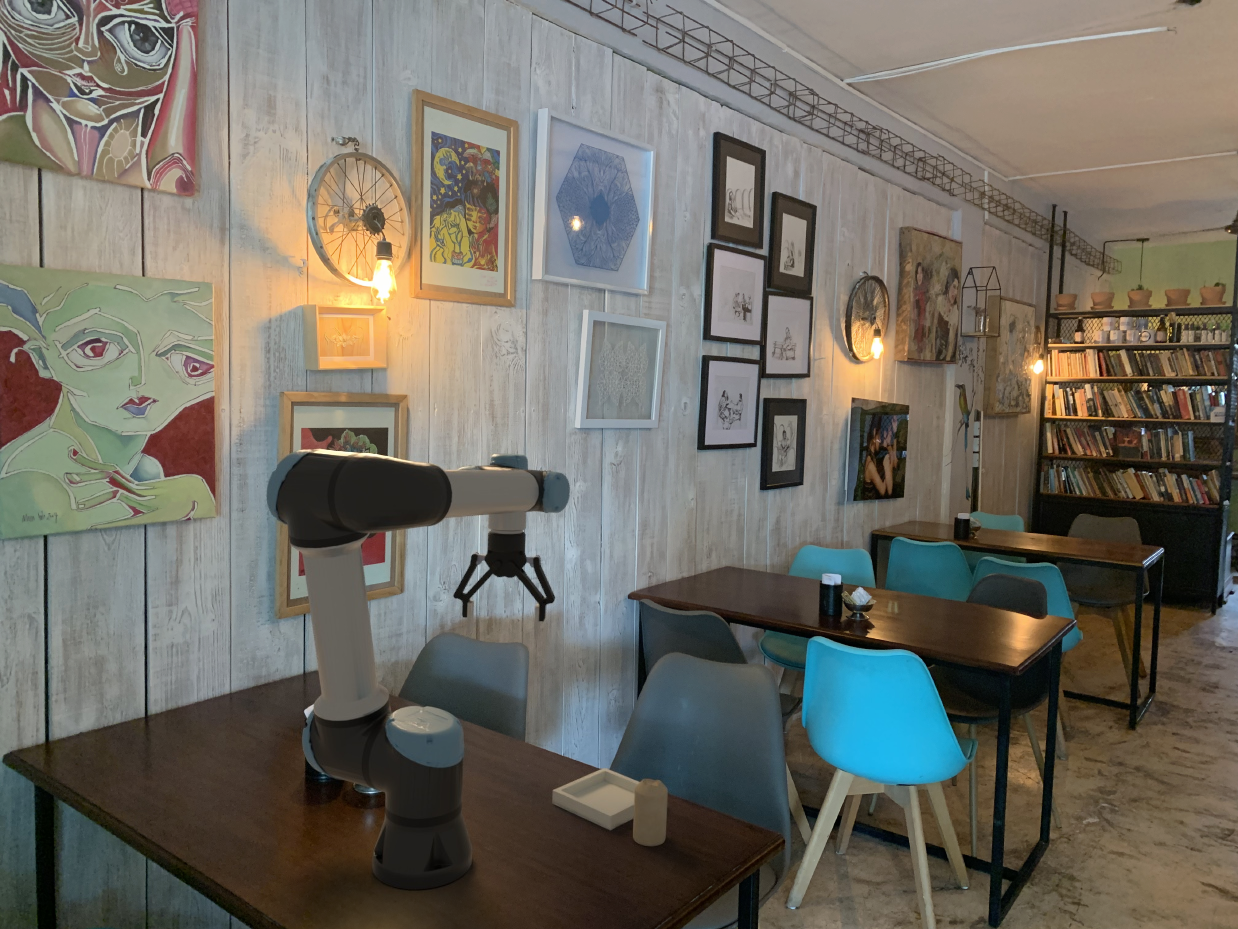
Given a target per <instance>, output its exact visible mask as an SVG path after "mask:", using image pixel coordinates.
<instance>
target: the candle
mask: <svg viewBox="0 0 1238 929" xmlns="http://www.w3.org/2000/svg"><path fill="white" fill-rule="evenodd" d="M639 782H640V783H639V784H638V785H637V786H636V787H635V796H634V818H633V821H632V822H633V824H632V825H633V826H632V827H633V828H632V839H633V841H634V842H635V843H637V844H638V845H641V846H643V847H644V846H645V847H656V846H660V845H662V844H663V843H665V841H666V834H667V815H668V814H667V813H668V792H669V791H668V788H667V786H666V785H665V784H664V782H662V780H659V779H656V780H655V779H651V778H642V780H641V781H639Z"/></svg>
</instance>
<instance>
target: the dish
mask: <svg viewBox="0 0 1238 929" xmlns="http://www.w3.org/2000/svg"><path fill="white" fill-rule="evenodd" d="M640 782H641V781H639V780H635V779H632V778H631V777H628V776H626V775H623V774H621V773H619V772H616V771H613V770H612V769H609V768H606V767H603V768H602V769H601V768H600V769H599V770H597V771H593V772H591V773H589V774H587V775H584V776H582V777H581V778H578V779H575V780H574V781H571V782H568V783H567V784H564V785H562V786H559V787H556V788H555V789H552V798H551V800H552V802H551V803H552V805H554V806H556V807H559V808H561V809H563V810H566V811H567V812H569V813H572V814H573V815H576V816H578V817H580V818H583V819H585V820H587V821H589V822H591V823H593V824H595V825H597V826H600V827H602V828H604V829H606V830H609V831H612V830H613V829H616V828H618V827H619V826H621V825H625V823H627V822H630V821H631V820H634V796H635V787H636V786H637V785H638V784H639V783H640Z"/></svg>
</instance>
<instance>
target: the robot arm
mask: <svg viewBox="0 0 1238 929" xmlns="http://www.w3.org/2000/svg"><path fill="white" fill-rule="evenodd" d="M267 482H268V483H267V486H266V495H265V496H266V504H267V508H268V509H269V510H268V511H269V513H270V514H271V515H272V516H273V518H276V520H277V521H278V522H280V523H282V524H283V525H287V531H288V538H289V544H290V546H291V547H293V549H295V550H297V551H298V552H300V553H301V555H302V560H303V561H302V562H303V569H304V574H305V582H306V583H305V584H306V588H307V589H306V590H307V595H308V596H307V597H308V603H309V612H310V618H311V626H312V633H313V641H314V648H315V654H316V664H317V670H318V677H319V684H320V685H319V686H320V691H321V694H320V696H318V698H316V700H315V701H314V703H313V709H312V710H311V711H310V712H309V714H308V716H307V718H306V721H305V723H306V724H307V725H306V727H303V730H302V736H301V737H302V738H301V743H302V750H303V753H304V756H305V758H306V761H307V762H308V763H309V764H310V766H311V767H312V768H313V769H314V770H316V771H317V772H319V773H322V774H324V775H326V776H328V777H329V778H332V779H335V780H340V781H346V782H350V783H354V784H357V785H361V786H363V787H367V788H369V789H370V788H371V789H373V790H377V791H380V792H383V793H385V810H384V811H385V813H384V820H383V823H382V824H381V828H380V832H379V834H378V836H377V839H376V843H375V845H374V849H373V852H372V864H371V865H372V868H371V869H372V873H373V875H374V876H375V878H376V879H377V880H379V881H380V882H382V883H384V884H385V885H387V886H390V887H394V888H397V889H404V890H426V889H433V888H438V887H441V886H445V885H448V884H450V883H452V882H454V881H457V880H458V879H460V878H461V877H463V875H465V874H467V872H468V871H469V870H470V868H471V865H472V863H473V845H472V841H471V839H470V835H469V832H468V829H467V825H466V822H465V819H464V818H465V817H464V815H463V788H464V787H463V786H464V785H463V784H464V783H463V780H464V756H465V753H466V752H465V751H466V748H465V743H464V729H463V725H462V723H461V722H460V720H459V718H457V717H456V716H455V715H453V714H452V713H450V712H448V711H447V710H444V709H442V708H438V707H434V706H427V705H426V706H425V707H423V706H420V705H410V706H404V707H401V708H398V709H397V710H394V711H393V712H392V707H391V702H390V692H389V690H388V689H387V687H385V686H383V685H381V684H380V683H378V677H377V667H376V659H375V651H374V650H375V649H374V642H373V635H372V634H373V632H372V625H371V619H370V609H369V601H368V592H367V586H366V585H367V584H366V577H365V569H364V568H365V567H364V561H363V560H364V558H363V552H362V544H363V543H364V542H365V541H366V539H367V538H368V537H369V535H370V534H377V533H389V532H395V531H403V530H409V529H418V528H423V527H432V526H433V527H434V526H436V525H438V524H440V523H441V522H443V521H444V520H445V519H450V518H452V519H453V518H463V517H465V518H466V517H475V516H485V515H487V516H488V517H487V519H488V520H487V522H488V523H487V527H488V529H489V530H490V531H488V533H487V551H486V554H481V553H479V552H478V551H475V552H474V553H472V555H471V556H470V562H469V565H468V567H467V569H466V571H465V573H464V575H463V577H462V578H461V580H460V582H459V584H458V585H457V587H456V590H455V592H454V593H453V598H454V599H457V600H460V601H461V603H462V606H461V608H462V609H461V616H462V618H466V636H471V635H472V634H473V633H474V615H475V614H474V613H475V612H474V610H475V609H474V608H475V600H473V599H471V598H472V597H473V596H474V595H475V594H476V592H478V591H479V590H480V588H481V587H482V586H483V585H485V583H486V582H487V581H488V580H489V579H490V578H491V577H492V575H494V576H495V577H496V578H503V577H505V578H507V579H513V578H515V577H516V579H518V580H519V581H520V582H521V583H522V585H524V587H525V589H526V590H527V591H528V592H529V594H530V595H531V596H532V597H533V599H535V601H536V602H537V603H536V604H535V607H534V626H533V630H534V633H533V639H537V640H538V639H539V637H540V632H541V631H540V629H541V628H540V627H541V622H543V623H544V621H545V619H546V615H547V614H546V610H547V609H546V608H547V605H549V604H554V602H555V600H556V596H555V593H554V592H553V589H552V587H551V584H550V583H549V580H548V577H547V576H546V573H545V571H544V569H543V567H542V559H541V556H540V555H539V554H536V555H535V556H527V554H526V536H527V535H526V532H525V530H526V528H527V513H529V512H532V513H533V512H540V513H544V514H549V513H552V514H553V513H554V514H555V513H556V514H557V513H561V512H563V510H565V509H566V507H567V505H568V503H569V500H570V493H571V487H570V482H569V479H568V477H567V476H566V475H565V474H564V473H563V472H558V471H552V470H538V469H537V470H536V469H529V461H528V457H527V456H526V455H524V454H519V453H494V454H492V455H491V457H490V461H489V465H468V466H463V467H459V468H457V469H443V468H442V467H441V466H439V465H438V464H435V463H431V462H417V461H412V460H406V459H401V458H396V457H392V456H387V455H381V454H376V453H368V452H366V453H365V452H364V453H362V452H351V451H340V450H339V451H338V450H337V451H336V450H329V449H325V448H316V449H299V450H296V451H293V452H291V453H289V454H288V455H286V456H284V457H283V458H282V459H281V460H280V461H279V462H278V463H277V465H276V468H275V470H273V471H272V472H271V474H270V477H269V480H268V481H267ZM483 562H484V563H485V564H486V565H487V567H488V570H487V571H486V572H485V573H484V574H483V575H482V576H481V577H480V578H479V579H478V580H477V581H476V583H475V584H474V585H473V586H472V587H471V588H470V589H469V590H468V591H467V592H464V591H465V589H466V587H467V586H468V583H469V582H470V580H471V578H472V576H473V575H474V573H475V571H476V569H477V567H478V566H480V565H481V564H482V563H483ZM526 564H529V565H530V568H533V571H534V574H535V576H536V577H537V580H538V582H539V584H540V587H541V588H542V591H543V592H544V595H545V596H544V595H543V594H542V592H541V591H540V590H539V588H538V587H537V586H536V584H535V583H534V582H533V581H532V579H531V578H530V577H529V575H528V573H527V572H526V571H525V569H524V567H525V566H526Z"/></svg>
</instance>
